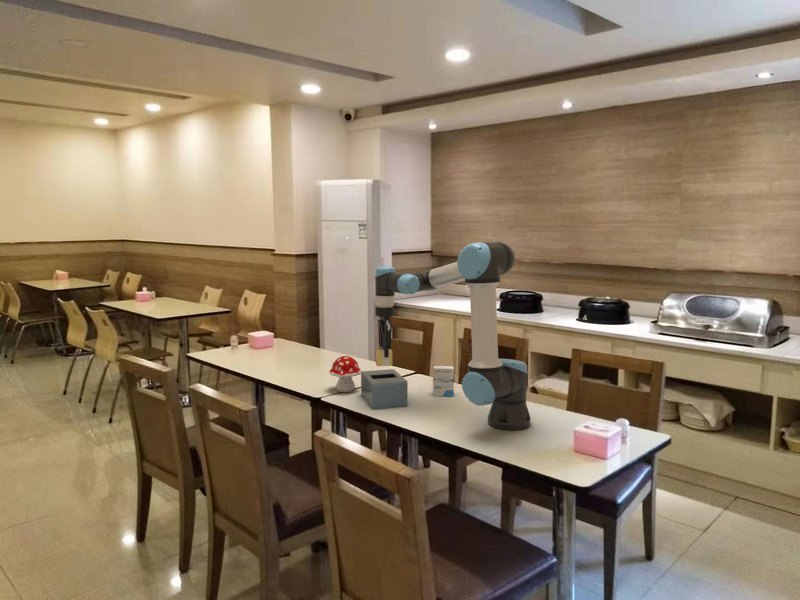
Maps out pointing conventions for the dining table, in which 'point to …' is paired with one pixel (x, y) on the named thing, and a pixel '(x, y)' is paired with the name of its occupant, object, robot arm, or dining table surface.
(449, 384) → the ink box
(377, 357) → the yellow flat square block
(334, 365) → the decorative mushroom
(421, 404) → the dining table surface
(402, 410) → the dining table surface
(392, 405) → the coin box
